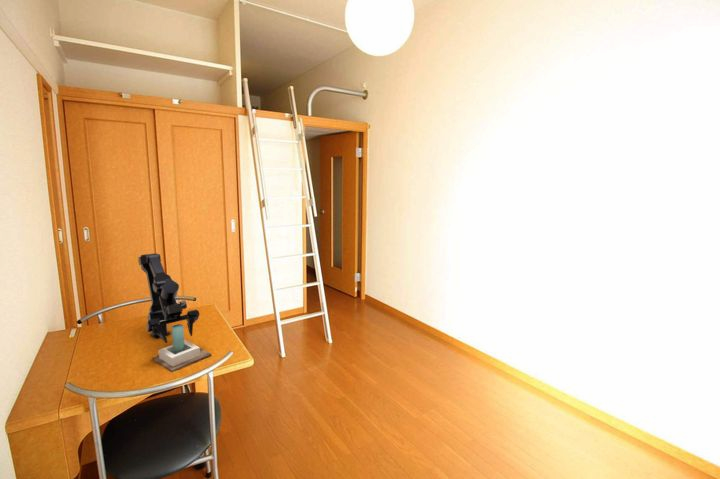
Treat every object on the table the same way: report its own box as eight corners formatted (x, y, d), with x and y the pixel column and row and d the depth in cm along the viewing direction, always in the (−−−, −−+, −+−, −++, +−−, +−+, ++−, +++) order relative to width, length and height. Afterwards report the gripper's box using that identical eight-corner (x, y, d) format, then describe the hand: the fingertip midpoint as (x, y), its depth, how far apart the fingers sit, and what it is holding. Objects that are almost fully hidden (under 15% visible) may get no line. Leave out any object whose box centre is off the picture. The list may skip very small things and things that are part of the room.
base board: (152, 359, 141) (152, 357, 141) (191, 344, 154) (191, 343, 154) (172, 372, 132) (171, 370, 132) (211, 355, 145) (211, 353, 145)
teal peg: (171, 358, 141) (169, 327, 138) (178, 353, 144) (176, 323, 142) (180, 359, 140) (178, 329, 137) (187, 354, 144) (185, 324, 141)
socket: (159, 357, 141) (158, 349, 140) (186, 347, 150) (185, 340, 149) (172, 366, 134) (171, 358, 134) (200, 355, 143) (199, 347, 143)
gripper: (145, 300, 135) (155, 337, 128) (196, 290, 147) (207, 323, 141) (142, 314, 142) (151, 349, 135) (191, 303, 154) (202, 335, 148)
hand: (179, 339), depth 140 cm, fingers open, 9 cm apart
